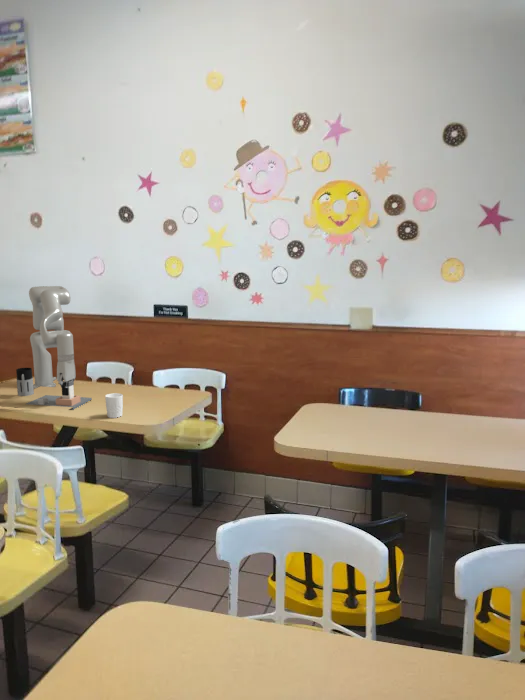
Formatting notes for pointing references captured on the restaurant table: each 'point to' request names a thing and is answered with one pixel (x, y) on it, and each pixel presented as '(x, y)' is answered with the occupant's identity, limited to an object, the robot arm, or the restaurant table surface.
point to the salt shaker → (69, 390)
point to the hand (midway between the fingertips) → (67, 393)
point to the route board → (60, 401)
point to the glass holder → (24, 382)
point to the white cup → (114, 405)
